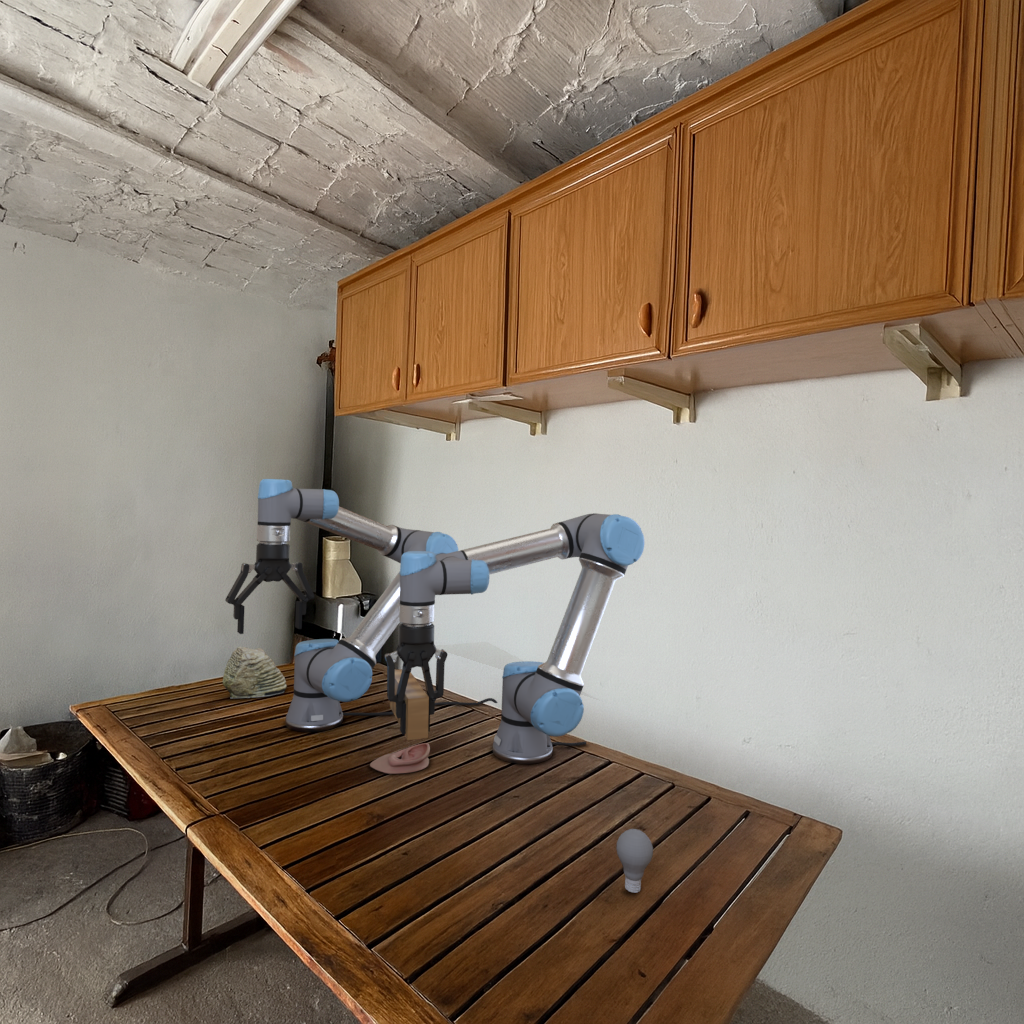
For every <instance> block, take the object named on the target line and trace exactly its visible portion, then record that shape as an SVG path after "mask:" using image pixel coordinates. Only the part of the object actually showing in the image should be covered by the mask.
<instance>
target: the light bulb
mask: <svg viewBox="0 0 1024 1024" xmlns="http://www.w3.org/2000/svg"><path fill="white" fill-rule="evenodd" d="M615 849H616V854H617V857H618V859H619V861H620V863H621V865H622V867H623V873H624V874H623V875H624V876H625V878H624V888H625V890H627V891H628V892H630V893H634V894H635V893H639V892H640V891H641V889H642V887H641V886H642V879H643V877H644V875H645V871H646V868H647V867H648V866H649V864H650V863H651V861H652V859H653V855H654V847H653V843H652V841H651V838H649V836H648V835H647V834H646V833H645V832H643V831H642V830H641V829H636V828H629V829H627V830H625V831H623V832H622V833H621V834H620V835H619V837H618V839H617V841H616V847H615Z"/></svg>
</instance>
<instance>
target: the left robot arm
mask: <svg viewBox="0 0 1024 1024" xmlns="http://www.w3.org/2000/svg"><path fill="white" fill-rule="evenodd" d="M258 485H259V486H258V491H257V492H258V494H257V525H256V526H257V528H256V541H257V542H258V543H257V544H256V548H255V549H256V550H255V562H254V564H251V563H247V562H242V564H241V567H240V572H239V574H238V576H237V578H236V579H235V581H234V583H233V585H232V587H231V588H230V590H229V591H228V594H227V595H226V597H225V603H227V604H229V605H233V613H232V614H233V615H232V616H233V619H234V620H237V634H239V635H244V632H245V625H244V624H245V605H243V603H244V602H245V601H246V600H247V599H248V598H249V596H250V595H251V594H252V593H253V592H254V591H255V590H256V589H257V587H258V586H259V585H261V584H262V583H263V582H265V583H271V582H281V581H283V582H284V584H286V586H287V587H288V588H289V589H290V591H291V592H292V593H293V594H294V595H295V596H296V598H297V599H298V600H296V601H295V619H294V620H295V622H294V628H296V629H298V630H302V628H303V616H304V615H306V614H307V603H308V602H309V601H310V600H313V599H315V594H314V592H313V590H312V588H311V586H310V584H309V581H308V579H307V577H306V575H305V573H304V568H303V567H304V565H303V562H299V561H295V562H292V563H290V552H291V551H290V546H291V545H290V544H289V542H290V541H291V525H292V524H291V523H292V519H293V520H294V519H295V520H298V521H301V522H304V523H306V524H309V525H311V526H314V527H316V528H319V529H322V530H325V531H327V532H330V533H332V534H334V535H338V536H341V537H342V538H346V539H349V540H352V541H353V542H356V543H359V544H361V545H364V546H367V547H369V548H372V549H374V550H377V552H378V554H379V555H380V556H383V557H386V558H388V559H390V560H393V561H395V562H397V563H399V564H401V556H402V555H403V554H404V553H405V552H409V551H429V552H433V553H435V554H437V553H446V554H447V553H451V552H456V551H459V546H458V544H457V541H456V540H455V539H454V538H453V537H452V536H451V535H450V534H447V533H444V532H441V531H427V530H420V529H409V528H403V527H400V526H397V525H394V524H388V525H386V524H383V523H381V522H378V521H377V520H373V519H371V518H368V517H366V516H364V515H362V514H359V513H356V512H354V511H352V510H349V509H346V508H345V507H342V506H340V499H339V496H338V494H337V492H336V491H334V490H333V489H325V488H323V489H322V488H321V489H320V488H297V487H294V486H293V482H292V480H290V479H280V478H278V479H277V478H263V479H261V480H260V481H259V484H258ZM291 569H292V571H293V572H294V573H295V575H296V576H297V579H298V581H299V583H300V585H301V588H302V590H303V592H302V591H301V590H300V588H299V587H298V586H297V585H296V583H295V582H294V581H293V580H292V578H291V577H290V576H289V575H288V573H289V571H290V570H291ZM253 570H254V572H255V573H256V574H255V576H254V577H253V578H252V580H251V581H250V582H249V583H248V584H247V585H246V587H244V589H243V590H242V591H241V588H242V587H243V585H244V583H245V582H246V579H247V578H248V575H249V574H251V573H252V571H253ZM399 573H400V570H399V571H398V573H397V574H396V575H395V576H394V578H393V579H392V581H391V582H390V583H389V584H388V586H387V587H386V589H384V591H382V594H381V595H380V596H379V598H378V599H377V600H376V602H375V603H374V604H373V606H372V607H371V608H370V609H369V610H368V612H367V613H366V614H365V616H364V617H363V618H362V620H361V621H360V623H359V624H358V625H357V626H356V628H354V630H353V631H352V633H351V634H350V636H348V637H343V638H340V639H339V640H338V639H336V638H319V639H308V640H303V641H300V642H297V644H296V645H295V650H294V655H293V656H294V672H293V695H292V696H293V697H292V699H291V702H290V704H289V708H288V711H287V713H286V715H285V726H286V728H287V729H289V730H291V731H294V732H295V731H296V732H301V733H316V732H325V731H329V730H332V729H335V728H337V727H339V726H340V725H342V723H343V722H344V717H352V716H353V717H354V716H355V717H356V716H357V717H358V716H359V717H378V716H379V717H381V716H395V715H394V713H393V711H386V712H385V711H384V712H383V711H381V712H343V709H342V706H341V703H350V702H353V701H357V700H358V699H360V698H361V697H363V696H364V694H366V693H367V692H368V690H369V689H370V687H371V684H372V681H373V678H372V677H373V670H374V668H375V667H376V665H377V659H376V657H377V654H378V653H379V652H380V650H381V649H382V647H383V646H384V645H385V644H386V642H387V640H388V639H389V638H390V636H391V635H392V633H393V632H394V631H395V629H397V627H398V625H400V624H401V622H400V621H399V609H400V574H399ZM240 591H241V592H240ZM239 592H240V593H239ZM476 702H478V703H476ZM487 702H493V703H494V704H498V701H497V700H496V698H493V697H488V698H484V699H482V700H479V701H474V702H467V701H466V702H463V701H437V702H435V707H436V706H448V705H449V706H450V705H451V706H479V705H482V704H484V703H487Z"/></svg>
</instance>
